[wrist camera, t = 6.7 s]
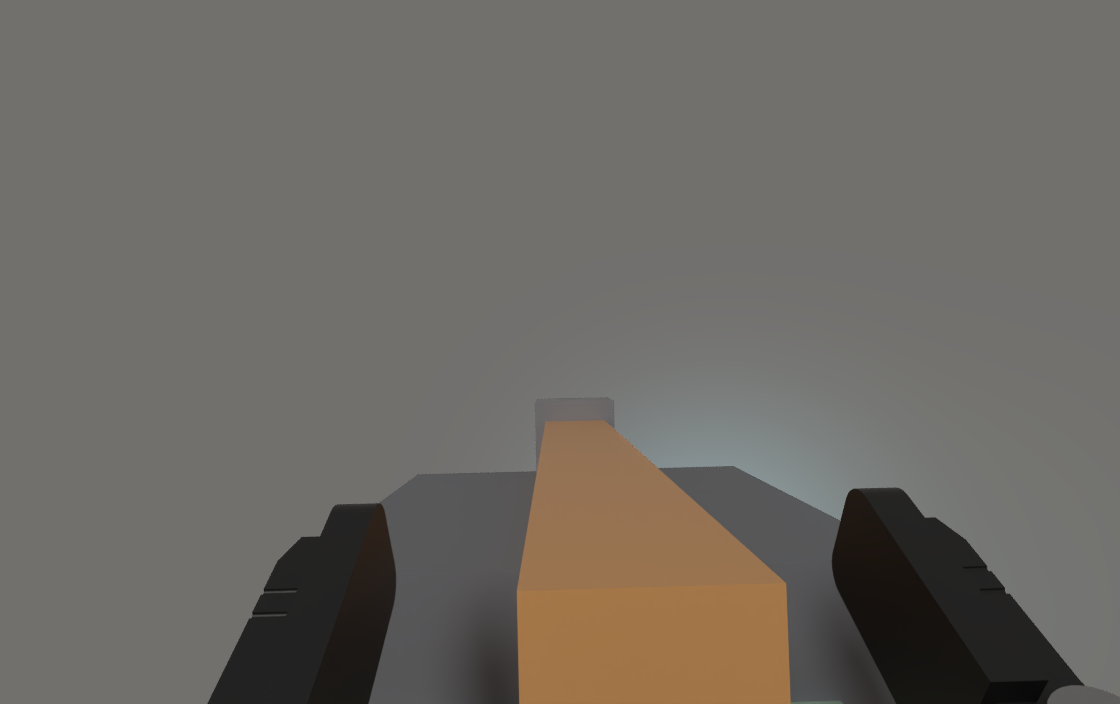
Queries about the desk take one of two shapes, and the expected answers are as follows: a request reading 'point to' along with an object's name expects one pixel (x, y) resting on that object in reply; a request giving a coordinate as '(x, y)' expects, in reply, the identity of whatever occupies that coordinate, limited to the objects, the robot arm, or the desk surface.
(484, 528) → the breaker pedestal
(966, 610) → the robot arm
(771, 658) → the lever bar
